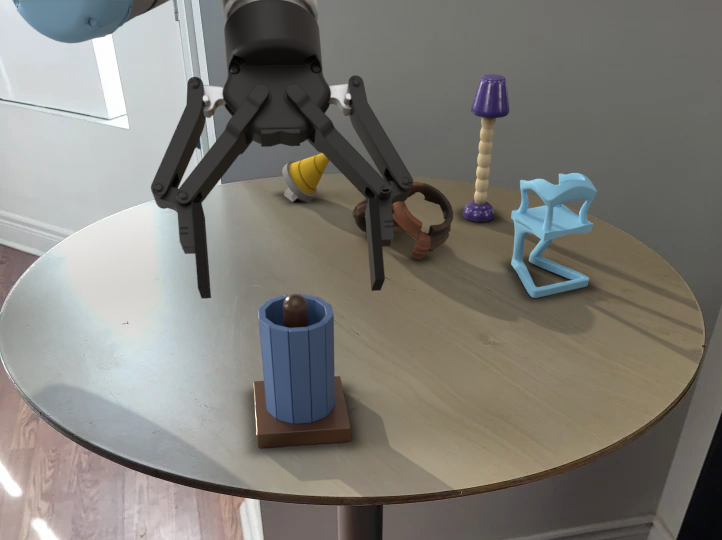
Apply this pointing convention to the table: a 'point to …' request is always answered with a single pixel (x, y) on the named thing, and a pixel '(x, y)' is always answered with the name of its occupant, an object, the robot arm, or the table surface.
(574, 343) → the table surface
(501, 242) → the table surface
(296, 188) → the drill bit
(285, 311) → the stand
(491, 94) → the toy lamp
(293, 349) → the blue fluted tube
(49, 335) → the table surface
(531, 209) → the chair
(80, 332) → the table surface
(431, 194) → the brown looped strap
